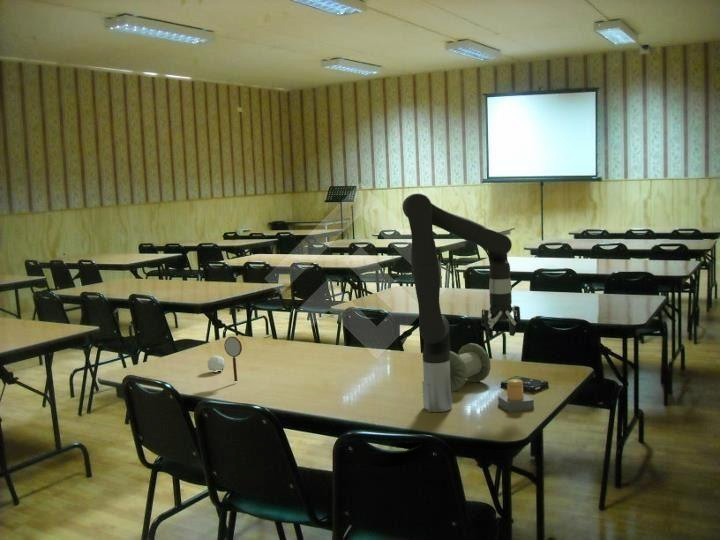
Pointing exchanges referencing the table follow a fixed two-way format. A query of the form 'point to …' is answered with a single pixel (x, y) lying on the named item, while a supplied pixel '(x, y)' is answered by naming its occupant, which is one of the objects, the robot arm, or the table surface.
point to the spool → (468, 365)
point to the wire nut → (515, 389)
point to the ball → (216, 363)
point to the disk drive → (528, 384)
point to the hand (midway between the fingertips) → (501, 336)
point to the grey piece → (516, 403)
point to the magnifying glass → (233, 351)
